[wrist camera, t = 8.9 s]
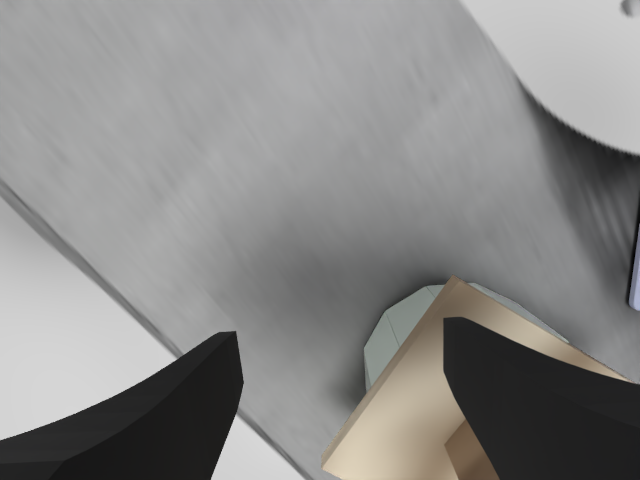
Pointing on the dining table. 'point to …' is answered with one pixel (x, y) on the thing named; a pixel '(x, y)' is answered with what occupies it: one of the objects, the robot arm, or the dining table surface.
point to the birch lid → (433, 399)
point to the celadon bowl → (405, 318)
